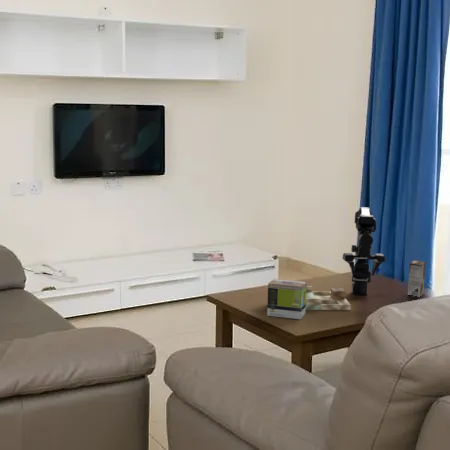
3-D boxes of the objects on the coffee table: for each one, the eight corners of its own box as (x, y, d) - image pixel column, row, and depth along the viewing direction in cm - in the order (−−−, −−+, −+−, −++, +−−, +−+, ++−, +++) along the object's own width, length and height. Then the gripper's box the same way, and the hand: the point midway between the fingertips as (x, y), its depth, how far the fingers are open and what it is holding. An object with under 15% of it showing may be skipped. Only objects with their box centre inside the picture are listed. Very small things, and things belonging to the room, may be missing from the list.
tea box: (305, 314, 322) (307, 281, 319) (300, 320, 312) (302, 286, 310) (272, 309, 326) (273, 277, 324) (266, 316, 317) (267, 282, 314)
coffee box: (410, 291, 365) (413, 259, 362) (423, 293, 363) (426, 261, 360) (406, 295, 357) (409, 263, 354) (420, 297, 354) (422, 264, 352)
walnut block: (341, 296, 343) (342, 288, 342) (344, 299, 337) (345, 291, 336) (330, 296, 342) (330, 288, 341) (332, 299, 337) (333, 291, 336)
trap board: (339, 296, 351) (339, 286, 350) (350, 310, 330) (351, 299, 329) (295, 296, 349) (296, 286, 349) (304, 309, 328) (304, 298, 327)
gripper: (380, 239, 345) (377, 271, 348) (340, 238, 344) (339, 271, 346) (386, 244, 334) (384, 277, 337) (346, 243, 333) (344, 277, 335)
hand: (362, 275), depth 339 cm, fingers open, 9 cm apart
